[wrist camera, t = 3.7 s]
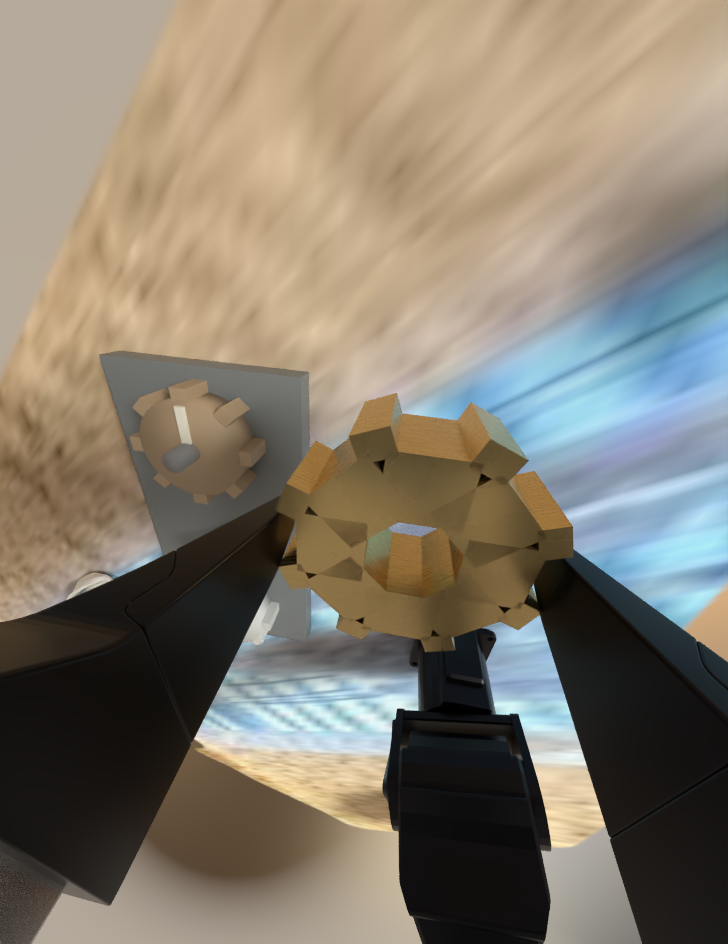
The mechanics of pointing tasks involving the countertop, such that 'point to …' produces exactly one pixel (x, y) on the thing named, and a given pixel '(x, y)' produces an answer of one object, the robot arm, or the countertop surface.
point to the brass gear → (427, 504)
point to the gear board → (272, 467)
